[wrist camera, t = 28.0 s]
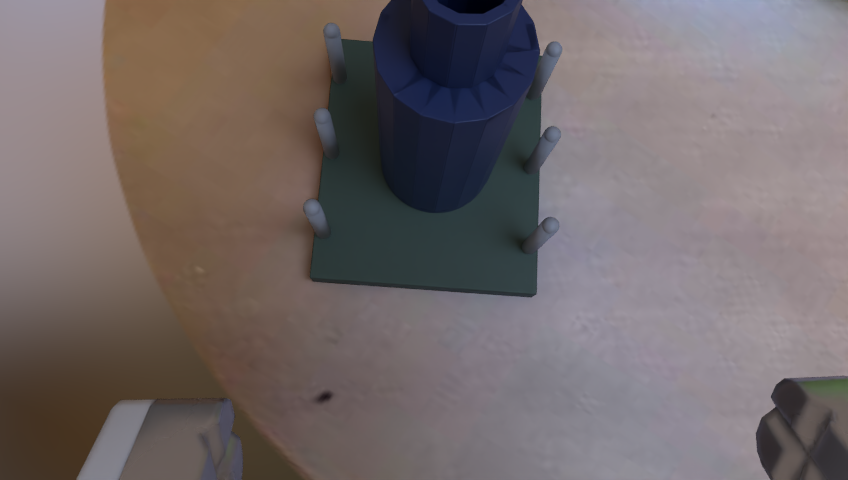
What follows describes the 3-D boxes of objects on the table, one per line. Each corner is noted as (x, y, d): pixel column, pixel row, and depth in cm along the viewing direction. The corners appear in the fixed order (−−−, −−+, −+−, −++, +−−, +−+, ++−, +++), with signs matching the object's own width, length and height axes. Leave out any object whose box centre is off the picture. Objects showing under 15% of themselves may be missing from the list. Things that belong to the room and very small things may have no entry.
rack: (531, 297, 34) (562, 278, 28) (312, 281, 33) (293, 258, 27) (537, 65, 37) (566, 1, 31) (337, 49, 37) (325, -20, 30)
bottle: (510, 179, 34) (607, 8, 18) (417, 233, 33) (436, 100, 17) (453, 92, 35) (499, -140, 19) (361, 142, 34) (332, -60, 19)
